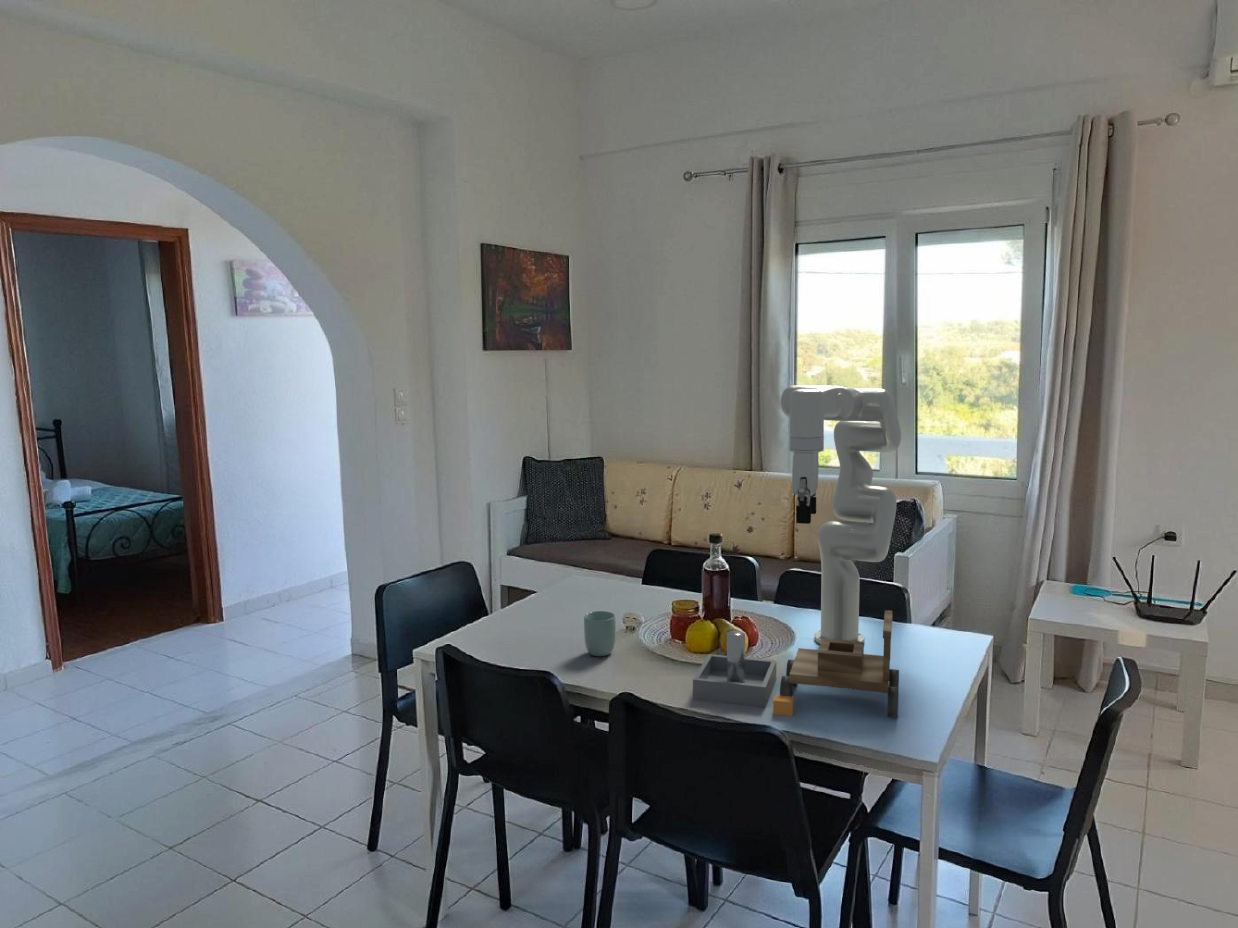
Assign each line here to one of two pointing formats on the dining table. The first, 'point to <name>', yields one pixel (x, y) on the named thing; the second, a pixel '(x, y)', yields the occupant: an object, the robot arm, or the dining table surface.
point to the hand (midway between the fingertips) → (806, 518)
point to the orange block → (783, 705)
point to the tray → (716, 687)
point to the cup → (599, 632)
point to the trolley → (845, 668)
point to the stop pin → (736, 656)
